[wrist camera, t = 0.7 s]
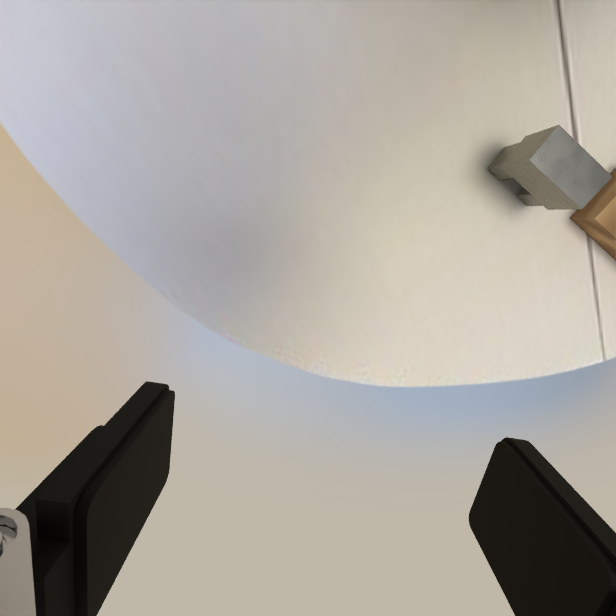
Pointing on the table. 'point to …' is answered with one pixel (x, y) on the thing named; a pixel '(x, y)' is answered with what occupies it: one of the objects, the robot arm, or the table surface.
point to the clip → (551, 170)
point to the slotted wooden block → (601, 216)
